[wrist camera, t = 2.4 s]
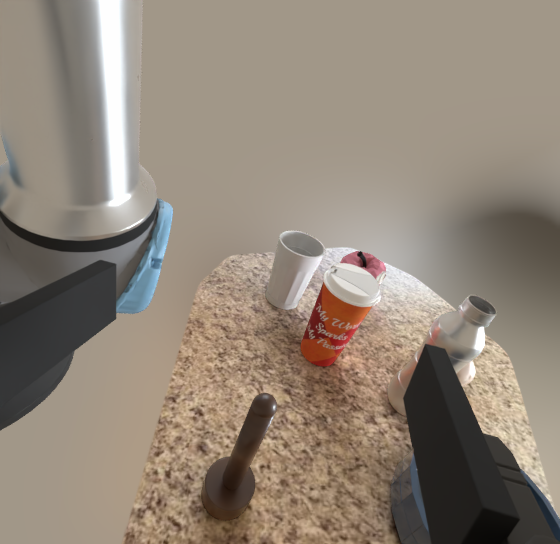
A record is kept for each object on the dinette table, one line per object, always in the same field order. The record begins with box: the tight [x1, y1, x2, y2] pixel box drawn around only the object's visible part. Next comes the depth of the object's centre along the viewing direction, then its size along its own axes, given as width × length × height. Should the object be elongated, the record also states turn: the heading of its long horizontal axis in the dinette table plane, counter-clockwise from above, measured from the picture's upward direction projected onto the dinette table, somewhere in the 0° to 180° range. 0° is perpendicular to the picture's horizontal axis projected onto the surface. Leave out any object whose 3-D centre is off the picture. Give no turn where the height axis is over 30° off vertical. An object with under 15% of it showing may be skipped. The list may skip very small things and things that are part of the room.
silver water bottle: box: [387, 295, 497, 417], centre depth 47 cm, size 6×7×20 cm
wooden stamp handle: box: [202, 393, 277, 521], centre depth 32 cm, size 5×5×16 cm
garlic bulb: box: [457, 361, 475, 387], centre depth 57 cm, size 7×6×8 cm
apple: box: [340, 251, 386, 286], centre depth 69 cm, size 10×9×10 cm
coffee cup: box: [301, 263, 381, 366], centre depth 52 cm, size 8×8×15 cm
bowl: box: [391, 448, 560, 544], centre depth 38 cm, size 18×18×6 cm
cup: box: [265, 231, 326, 310], centre depth 61 cm, size 8×8×12 cm
